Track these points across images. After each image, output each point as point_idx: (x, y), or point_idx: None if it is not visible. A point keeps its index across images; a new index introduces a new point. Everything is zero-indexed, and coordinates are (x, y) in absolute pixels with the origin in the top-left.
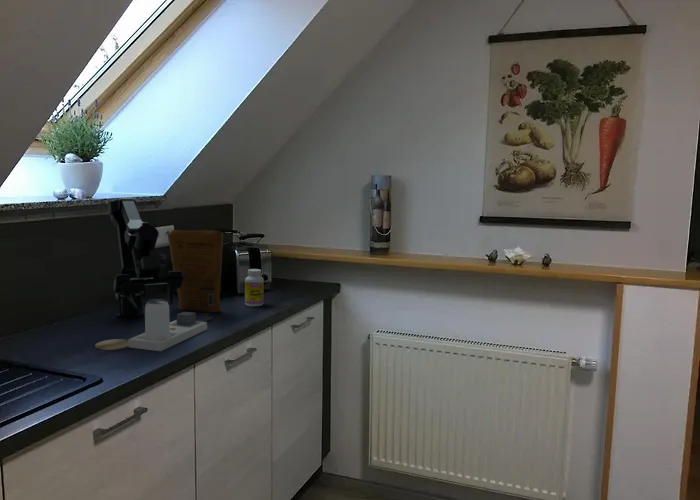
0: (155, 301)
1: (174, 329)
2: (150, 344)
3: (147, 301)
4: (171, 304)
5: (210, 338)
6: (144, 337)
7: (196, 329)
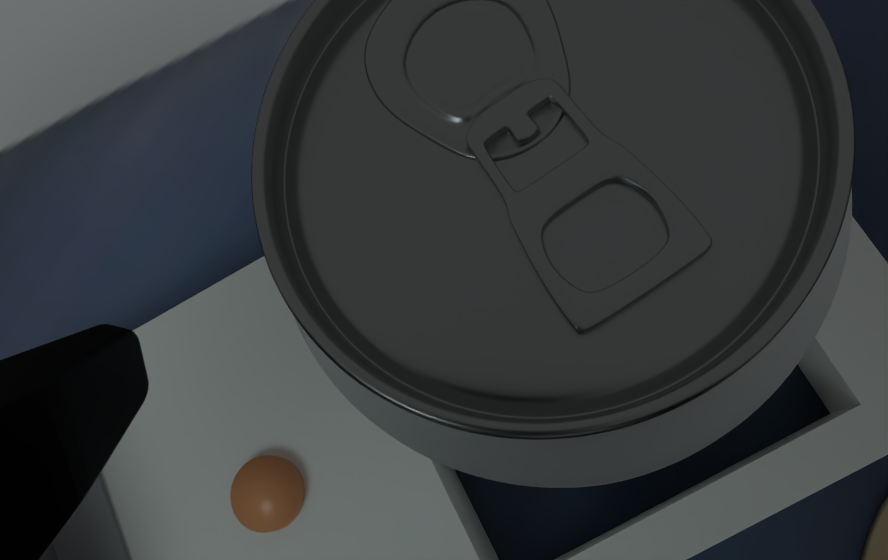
0: (532, 233)
1: (270, 455)
2: None
3: (751, 334)
4: (124, 356)
5: (90, 182)
6: (689, 491)
7: None
